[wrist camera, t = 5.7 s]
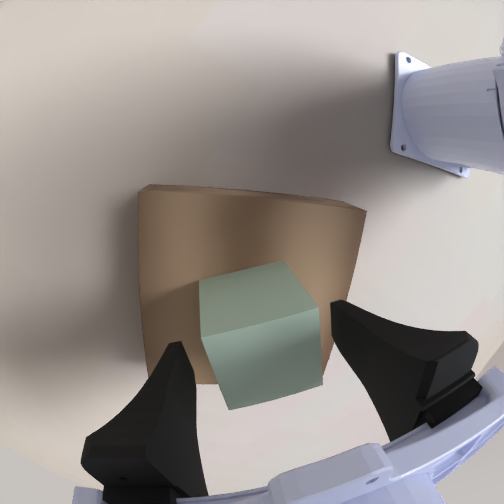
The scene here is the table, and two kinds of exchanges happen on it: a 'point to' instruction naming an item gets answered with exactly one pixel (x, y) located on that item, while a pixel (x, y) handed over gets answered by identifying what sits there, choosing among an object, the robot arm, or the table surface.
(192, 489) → the robot arm
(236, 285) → the sage block
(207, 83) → the table surface
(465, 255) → the table surface
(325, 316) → the walnut base slab
